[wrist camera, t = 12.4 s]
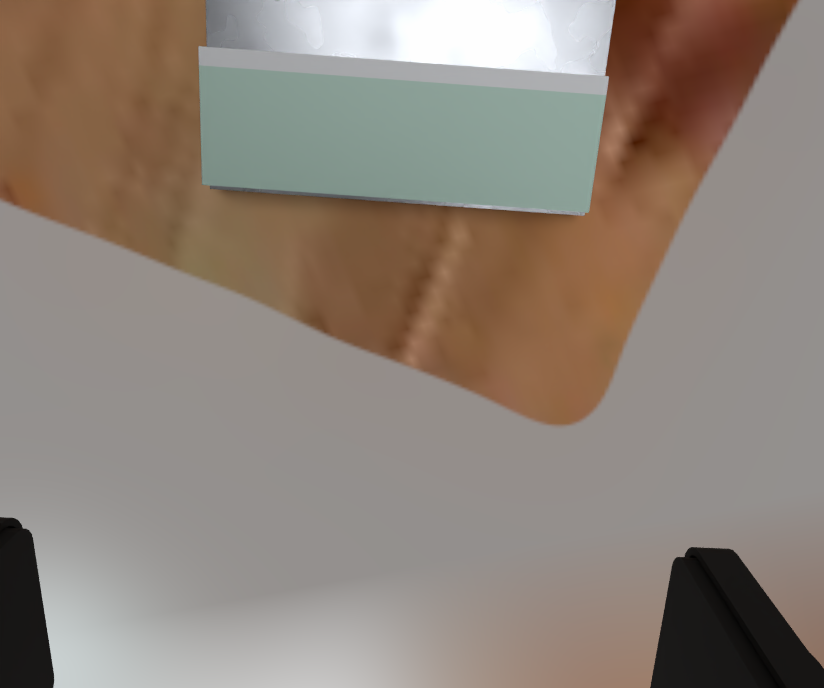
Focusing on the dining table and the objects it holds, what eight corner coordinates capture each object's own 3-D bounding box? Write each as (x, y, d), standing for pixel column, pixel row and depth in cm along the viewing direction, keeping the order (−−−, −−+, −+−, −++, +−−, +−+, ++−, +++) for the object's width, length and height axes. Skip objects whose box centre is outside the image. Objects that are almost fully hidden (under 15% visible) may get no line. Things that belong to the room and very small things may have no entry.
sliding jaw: (221, 179, 27) (202, 184, 24) (219, 53, 25) (198, 46, 23) (574, 204, 27) (588, 212, 24) (591, 81, 25) (608, 76, 23)
